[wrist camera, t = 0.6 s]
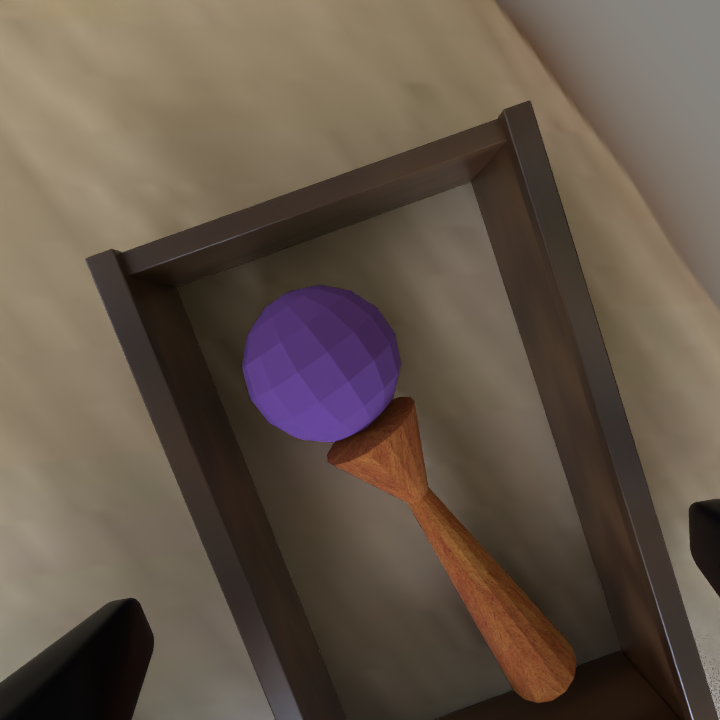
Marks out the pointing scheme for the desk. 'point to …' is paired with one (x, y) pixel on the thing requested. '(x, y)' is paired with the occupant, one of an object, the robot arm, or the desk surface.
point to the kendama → (390, 458)
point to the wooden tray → (554, 382)
